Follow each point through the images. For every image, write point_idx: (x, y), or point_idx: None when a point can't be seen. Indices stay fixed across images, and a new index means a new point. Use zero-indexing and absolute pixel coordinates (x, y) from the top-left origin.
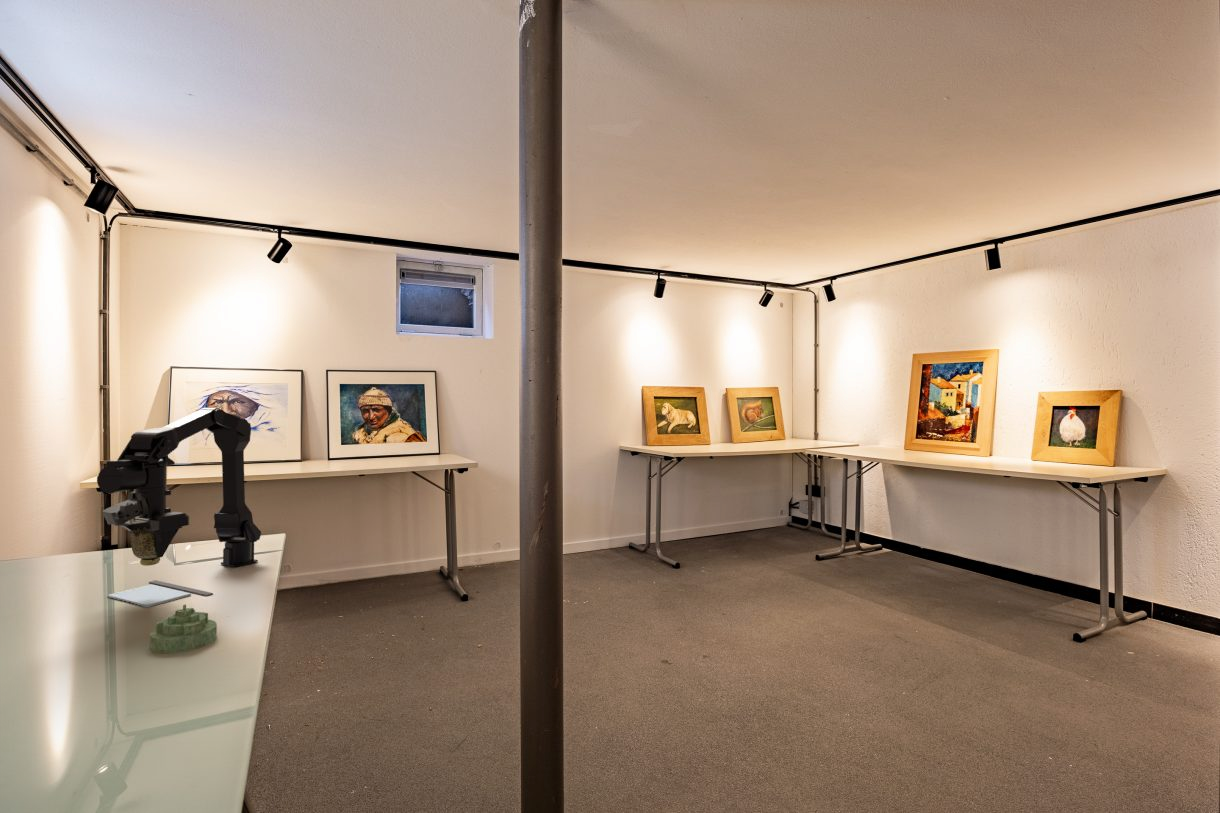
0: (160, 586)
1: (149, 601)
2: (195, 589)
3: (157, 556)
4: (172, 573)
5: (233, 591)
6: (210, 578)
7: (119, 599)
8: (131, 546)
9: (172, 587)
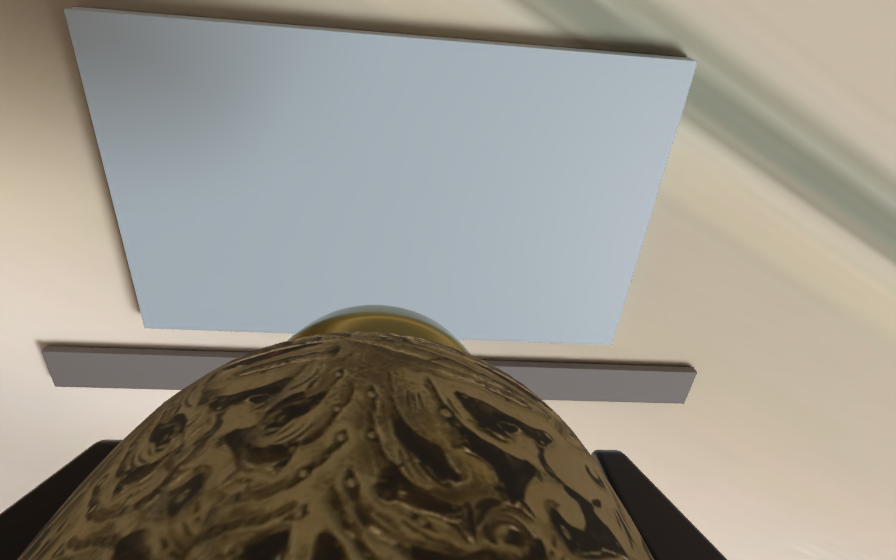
0: (506, 340)
1: (170, 87)
2: None
3: (89, 452)
4: (721, 500)
5: (33, 449)
6: None
7: (510, 45)
8: (503, 460)
9: None
